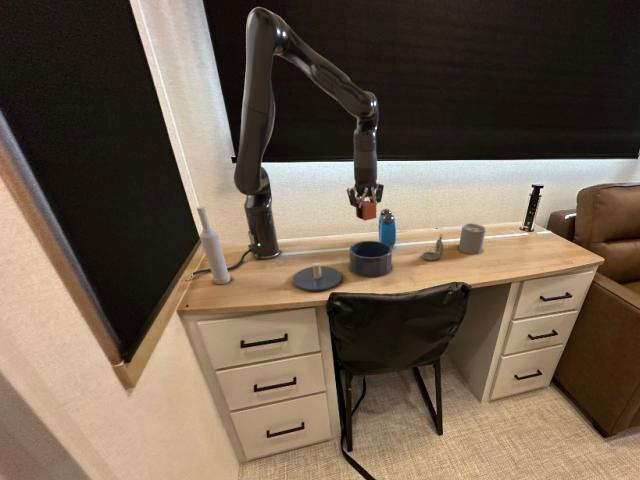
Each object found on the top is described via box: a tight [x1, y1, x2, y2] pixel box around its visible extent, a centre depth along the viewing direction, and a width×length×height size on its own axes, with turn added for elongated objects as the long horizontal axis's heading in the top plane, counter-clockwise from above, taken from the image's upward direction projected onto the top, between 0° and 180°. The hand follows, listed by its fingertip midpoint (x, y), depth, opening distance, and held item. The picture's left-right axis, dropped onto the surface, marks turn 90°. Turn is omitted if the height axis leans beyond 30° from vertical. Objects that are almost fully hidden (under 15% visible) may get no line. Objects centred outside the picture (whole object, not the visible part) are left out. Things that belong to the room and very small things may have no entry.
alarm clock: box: [378, 208, 397, 249], centre depth 134 cm, size 13×6×15 cm, turn 9°
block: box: [361, 200, 377, 222], centre depth 109 cm, size 5×5×5 cm
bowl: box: [348, 240, 393, 278], centre depth 118 cm, size 16×16×8 cm
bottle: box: [196, 206, 231, 285], centre depth 100 cm, size 5×5×25 cm
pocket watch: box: [422, 233, 444, 261], centre depth 127 cm, size 8×8×10 cm
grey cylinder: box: [458, 223, 487, 255], centre depth 138 cm, size 13×10×10 cm
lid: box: [292, 262, 343, 292], centre depth 109 cm, size 17×17×6 cm
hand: (366, 216), depth 111 cm, fingers closed on block, 5 cm apart
